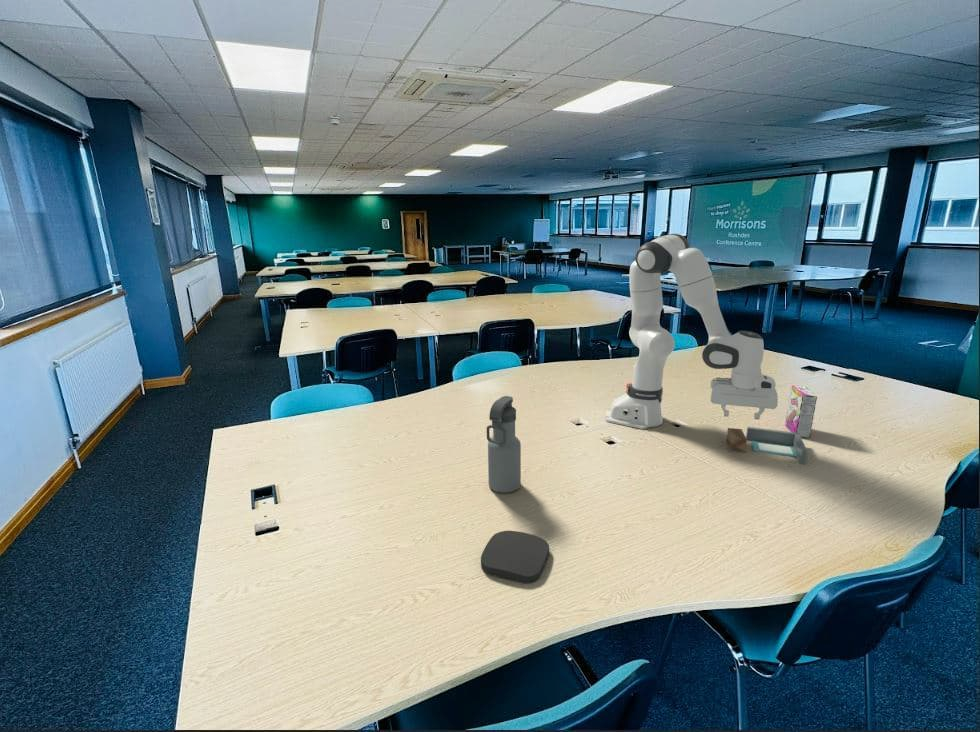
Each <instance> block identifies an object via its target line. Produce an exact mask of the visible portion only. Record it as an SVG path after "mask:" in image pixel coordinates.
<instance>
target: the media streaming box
mask: <svg viewBox="0 0 980 732" xmlns="http://www.w3.org/2000/svg"><path fill="white" fill-rule="evenodd" d="M549 556H550V544H549V543H548V542H547V541H546V540H545V538H543V537H541V536H538V535H534V534H531V533H528V532H524V531H518V530H517V531H516V530H503V531H502V530H501V531H498V532H496V533H494V534H493V535H492V536H491V538H489V540H488V542H487V543H486V545H485V547H484V548H483V552H482V553H481V556H480V567H481V569H482V571H483V572H484V573H485V574H487V575H490V576H493V577H497V578H499V579H504V580H509V581H511V582H512V581H513V582H517V583H521V584H532V583H535V582H537V581H538V580H539V579H540V578H541V576H542V574H543V571H544V569H545V568H546V564H547V563H548V559H549Z"/></svg>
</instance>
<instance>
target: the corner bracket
mask: <svg viewBox="0 0 980 732" xmlns="http://www.w3.org/2000/svg"><path fill="white" fill-rule="evenodd" d="M745 437H746V439H747V441H751V442H750V443H751V447H752V450H753V452H757V453H765V454H769V455H770V454H773V455H778V456H779V455H780V456H786V457H792V458H797V461H798V462H799V465H806V463H807V456H808V449H807V448H806V446H805V443H804V442H803V439H802V437H800V435H799V433H794V432H791V431H784V430H777V429H769V428H762V427H761V428H760V427H753V426H747V428H746V434H745Z"/></svg>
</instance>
